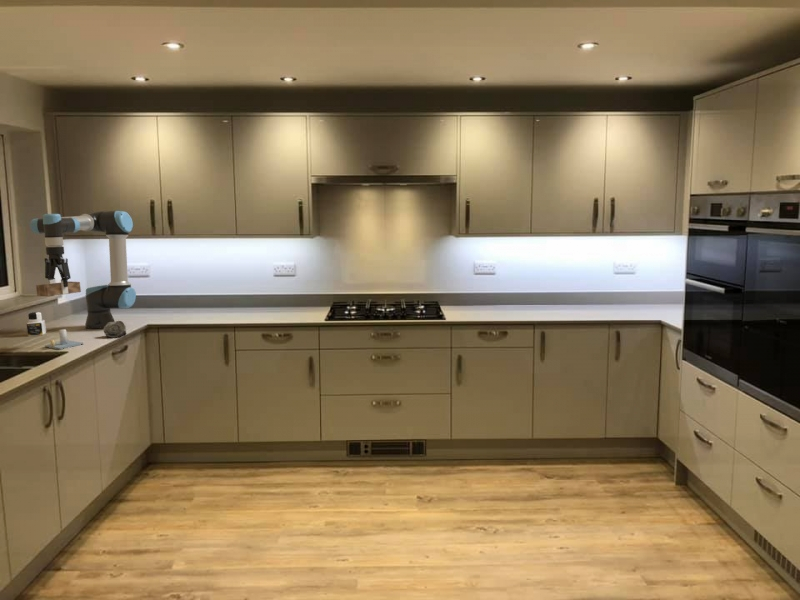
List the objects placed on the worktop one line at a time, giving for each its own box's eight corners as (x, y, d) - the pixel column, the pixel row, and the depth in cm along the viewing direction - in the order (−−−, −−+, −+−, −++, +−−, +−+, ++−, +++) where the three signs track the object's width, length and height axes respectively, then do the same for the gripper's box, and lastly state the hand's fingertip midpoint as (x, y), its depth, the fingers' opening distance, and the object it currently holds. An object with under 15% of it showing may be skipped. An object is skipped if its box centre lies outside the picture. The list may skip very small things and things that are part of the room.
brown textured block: (70, 291, 304) (69, 281, 303) (80, 292, 300) (79, 281, 300) (37, 295, 289) (36, 285, 288) (48, 296, 285) (46, 285, 285)
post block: (68, 342, 306) (66, 326, 304) (83, 344, 300) (81, 328, 299) (44, 347, 295) (42, 331, 294) (59, 349, 289) (57, 333, 288)
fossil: (106, 338, 310) (102, 320, 312) (104, 344, 317) (100, 326, 320) (129, 335, 316) (125, 317, 318) (126, 340, 323) (123, 323, 326)
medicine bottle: (27, 336, 322) (25, 314, 320) (31, 333, 329) (29, 311, 327) (42, 335, 324) (40, 313, 322) (46, 332, 331) (44, 311, 329)
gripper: (76, 246, 290) (80, 293, 293) (48, 245, 299) (52, 291, 302) (61, 246, 283) (66, 295, 287) (33, 246, 293) (38, 293, 296)
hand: (59, 293), depth 295 cm, fingers closed on brown textured block, 8 cm apart
